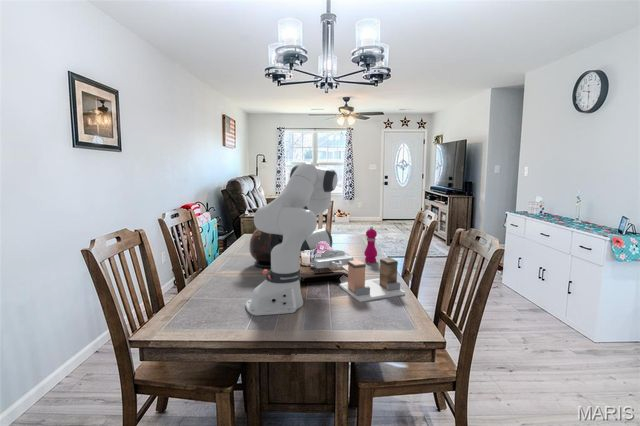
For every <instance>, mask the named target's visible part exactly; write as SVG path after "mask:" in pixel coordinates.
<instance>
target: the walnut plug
mask: <svg viewBox="0 0 640 426" xmlns="http://www.w3.org/2000/svg"><path fill="white" fill-rule="evenodd" d="M398 264H399V261H398V260H396V259H394V258H391V257H382V258H380V259H379V278H380V284H379V285H381V286H383V287H384V288H386V287H387V283H394V282H398V281H397V280H398Z"/></svg>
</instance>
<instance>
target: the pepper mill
mask: <svg viewBox="0 0 640 426" xmlns="http://www.w3.org/2000/svg"><path fill="white" fill-rule="evenodd" d="M377 234H378V233H377V231H376V229H374V227H373V226H370V227H369V229H367V230H366V232H365V236H366V241H367V245H366V248H365V250H364V253H363V254H364V256H365V258H364V262H366V263H369V264H372V263H376V262H377V256H378V250H377V248H376V245H375V243H376V240H377V239H376V237H377Z"/></svg>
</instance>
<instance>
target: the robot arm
mask: <svg viewBox="0 0 640 426" xmlns="http://www.w3.org/2000/svg"><path fill="white" fill-rule="evenodd" d="M338 180H339V179H338V174H337V172H336V170H333V169H331V168H324V167H320V166H316V165H314V164H313V163H312V162H302V163H301V164H298V165H297V164H296V165H294V167H292V168H291V170H290V174H289V180H288V181H287V183H286V185H285V187H284V189H283V191H282V192H281V193H280V194H279V195H278V196H276V198H274V199H273V200H272V201H270V202H269V203H267V204H264V205H263V206H259V207H258V208H257V210H256V211H255V213H254V214H253V215H254V216H253V223H254V227H255V228H256V229H258V230H260V231H262V232H265V233H269V234H278V235H283V241H282V243H280V244H278V245H276V246H275V247H274V248H273V249H272V251H271V269H263V271H262V273H263V275H264V276H265V279H264V280H263V281H262V282H261V283H260V284H258V285H257V286H256V287H254V289H253V291H252V294H251V299H248V300H246V303H245V308H246V310H247V312H248V313H249V314H250V315H252V316H257V317H258V316H269V315H280V314H281V315H282V314H283V315H285V314H293V313H296V311H297V310H298V309H300V308H302V306H303V305H304V300H303V296H302V291H301V280H302V279H301V278H302V273H301V268H300V254H301V252H302V251H304V250H310V251H311V250H313V249H315V248H316V244H318V242H320V241H326V242H327V243H328V244H329V246H330V247H331V250H327V251H325V252H324V253H322V255H321V257H316V258H314V257H313V258H312V259H310V262H311V264H313V266H314V268H315V269H325V268H333V267H334V268H343V266H348V261H353V260H354V256H353V255H351V254H349V253H347V252H345V250H338V249H337V250H336V249H332V246H333V237H332V234H331V232H330V231H329V230H327V229H326V228H325V227H323V228H318V229H317V225H318V224H317V223H318V219H317V216H319V215H320V214H322V213H325V212H326V211H327V210H328V209H329V208H330V205H331V201H332V192H333V191H334V190H335V189H336V187H337V186H338Z"/></svg>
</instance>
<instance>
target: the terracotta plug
mask: <svg viewBox="0 0 640 426" xmlns="http://www.w3.org/2000/svg"><path fill="white" fill-rule="evenodd" d="M347 266H348V268H347V279H348V280H347V283H348V288H349V289H350V290H352V291H353V292H356V288H360V287H365V280H366V263H365V262H363V261H361V260H360V259H357V260H356V259H355V260H353V261H348V265H347Z"/></svg>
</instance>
